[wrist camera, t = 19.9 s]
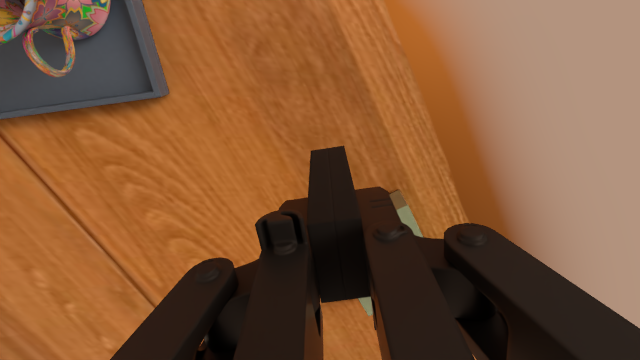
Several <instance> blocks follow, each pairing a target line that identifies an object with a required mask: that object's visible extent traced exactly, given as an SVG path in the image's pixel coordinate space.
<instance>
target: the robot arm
mask: <svg viewBox="0 0 640 360" xmlns="http://www.w3.org/2000/svg"><path fill="white" fill-rule="evenodd" d="M255 227H256V231H257V234H258V238H259V242H260V246H261V250H262V251H261V254H260V258H259V259H257V260H256V261H253V262H251V263H249V264H246V265H243V266H240V267H237V268H234V265H233V262H232V261H230V260H229V259H226V258H212V259H208V260H205V261H202V262H201V263H199V264H197V265H195V266H194V267H193V268H191V269H190V270H189V271H188V272H187V273H186V274H185V275H184V276H183V277H182V279H181V280H180V281H179V282H178V283H177V284H176V285H175V286H174V288H173V289H172V290H171V291H170V292H169V293H168V294H167V296H166V297H165V298H164V299H163V300H162V301H161V302H160V303H159V305H158V306H157V307H156V308H155V309H154V310H153V311H152V313H151V314H150V315H149V316H148V317H147V318H146V319H145V320H144V322H143V323H142V324H141V325H140V326H139V327H138V328H137V330H136V331H135V332H134V333H133V334H132V335H131V336H130V337H129V339H128V340H127V341H126V342H125V343H124V344H123V345H122V347H121V348H120V349H119V350H118V351H117V352H116V353H115V354H114V356H113V357H112V358H111V359H110V360H323V317H322V311H321V306H320V298H321V303H325V302H333V301H341V300H349V299H357V298H365V297H371V303H372V311H373V319H374V328H375V330H376V331H377V336H378V341H379V346H380V351H381V356H382V360H475V359H474V357H473V355H474V356H475V358H476V359H477V360H640V328H638V327H637V326H635V325H634V324H632V323H631V322H629V321H628V320H626V319H625V318H623V317H622V316H620V315H619V314H617V313H616V312H614V311H613V310H611V309H610V308H609V307H607V306H605V305H604V304H603V303H601V302H600V301H598V300H597V299H595V298H594V297H592V296H591V295H589V294H588V293H586V292H585V291H583V290H582V289H580V288H579V287H577V286H576V285H574V284H573V283H571V282H570V281H569V280H567V279H566V278H564V277H562V276H561V275H560V274H558V273H557V272H555V271H554V270H552V269H551V268H549V267H548V266H546V265H545V264H543V263H542V262H540V261H539V260H538V259H536V258H534V257H533V256H532V255H530V254H529V253H527V252H526V251H524V250H523V249H521V248H520V247H518V246H517V245H515V244H514V243H512V242H511V241H509V240H508V239H506V238H505V237H504V236H502V235H501V234H499V233H498V232H496V231H495V230H493V229H491V228H489V227H486V226H483V225H479V224H473V223H471V224H469V223H464V224H458V225H454V226H452V227H450V228H448V229H447V230H446V231H445V232H444V239H432V238H424V237H420V236H416V235H414V233H413V231H412V229H411V228H410V227H409V226H408V225H406V224H404V223H402V222H401V219H400V217H399V215H398V213H397V211H396V208H395V206H394V205H393V202H392V200H391V198H390V195H389V193H388V191H386V190H384V189H383V188H381V187H380V186H379V187H372V188H365V189H358V190H355V189H354V185H353V181H352V177H351V173H350V169H349V165H348V161H347V156H346V152H345V148H344V146H340V147H333V148H326V149H320V150H313V151H311V158H310V174H309V191H308V198H302V199H295V200H287V201H285V202H284V203H283V204H282V205H281V207H280V208H279V211H274V212H271V213H269V214H266V215H264V216H263V217H261V218H260V219H259V220H258V221H257V222H256V224H255ZM203 339H204V341H203ZM202 341H203V342H202ZM201 342H202V344H201ZM200 344H201V345H200ZM472 354H473V355H472Z"/></svg>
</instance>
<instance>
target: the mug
mask: <svg viewBox="0 0 640 360" xmlns="http://www.w3.org/2000/svg"><path fill="white" fill-rule="evenodd" d="M110 4H111V0H0V45H2V44H5V43H7V42H9V41H11V40H13V39H14V38H16V37H17V36H18V35H19V34H21V33H22V32H23V31H25V30H26V31H25V32H24V34H23V36H22V44H23V48H24V50H25V52H26V54H27V56H28V57H29V59H30V60H31V61H32V62H33V64H34V65H35V66H36V67H37V68H39V69H40V70H41V71H42V72H44V73H45V74H47V75H49V76H52V77H62V76H65V75H66V74H68V73H69V72H70V71H71V70H72V68H73V65H74V61H75V48H74V43H73V40H81V39H85V38H88V37H90V36H92V35H94V34H95V33H97V32H98V31H99V30H100V29H101V28H102V27H103V25H104V24H105V22H106V20H107V18H108V15H109V11H110ZM39 29H41V30H43V31H45V32H46V33H48V34H50V35H53V36H55V37H58V38H61V39H63V41H64V45H65V50H66V62H65V65H64V67H63V69H62V70H61V71H60V70H56V69H54V68H52V67H51V66H49V65H48V64H47V63H46V62H45V61H44V60H43V59H42V58H41V57H40V55H39V54H38V52H37V51H36V49H35V47H34V44H33V34H34V33H36V32H38V31H39Z"/></svg>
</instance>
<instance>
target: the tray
mask: <svg viewBox="0 0 640 360" xmlns="http://www.w3.org/2000/svg"><path fill="white" fill-rule="evenodd" d="M25 31H26V30H25ZM25 31H23V32H22V33H21V34H19V35H18V36H17V37H16V38H14V39H13V40H11V41H9V42H7V43H5V44H2V45H0V119H7V118H14V117H21V116H28V115H36V114H43V113H50V112H57V111H64V110H71V109H79V108H86V107H93V106H100V105H107V104H114V103H122V102H129V101H136V100H143V99H150V98H157V97H162V96H165V95H168V94H169V90H168V87H167V84H166V80H165V77H164V73H163V70H162V67H161V63H160V60H159V57H158V53H157V50H156V47H155V43H154V40H153V37H152V33H151V30H150V27H149V23H148V20H147V16H146V13H145V10H144V6H143V3H142V0H111V4H110V11H109V15H108V18H107V20H106V22H105V24H104V25H103V27H102V28H101V29H100V30H99V31H98V32H97V33H95V34H94V35H92V36H90V37H88V38H85V39H81V40H73V43H74V48H75V61H74V65H73V68H72V70H71V71H70V72H69V73H68V74H66V75H65V76H62V77H52V76H49V75H47V74H45V73H44V72H42V71H41V70H40V69H39V68H37V67H36V66H35V65H34V64H33V62H32V61H31V60H30V59H29V57H28V56H27V54H26V52H25V50H24V48H23V44H22V36H23V34H24V32H25ZM33 44H34V47H35V49H36V51H37V52H38V54H39V55H40V57H41V58H42V59H43V60H44V61H45V62H46V63H47V64H48V65H49V66H51V67H52V68H54V69H56V70H60V71H61V70H62V69H63V67H64V65H65V62H66V50H65V45H64V41H63V39H61V38H58V37H55V36H53V35H50V34H48V33H46V32H45V31H43V30H41V29H39V31H38V32H36V33H34V34H33Z"/></svg>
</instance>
